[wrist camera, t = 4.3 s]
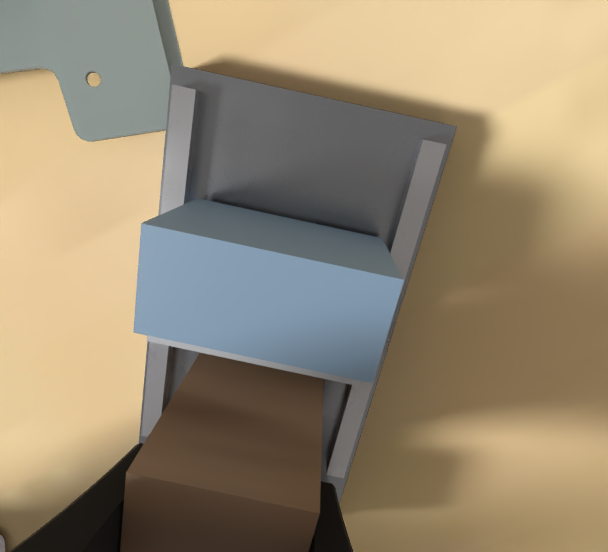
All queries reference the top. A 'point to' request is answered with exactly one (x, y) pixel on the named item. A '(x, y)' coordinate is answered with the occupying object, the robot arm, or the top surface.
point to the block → (229, 464)
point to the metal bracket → (97, 59)
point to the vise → (297, 200)
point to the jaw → (266, 290)
